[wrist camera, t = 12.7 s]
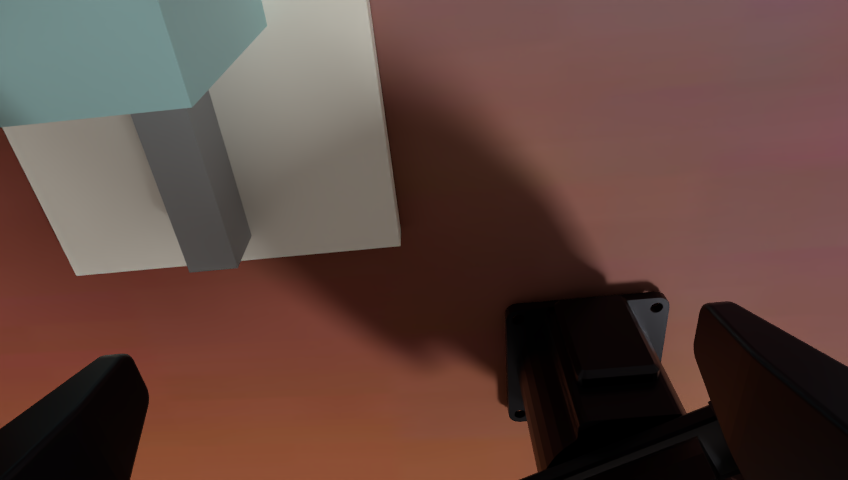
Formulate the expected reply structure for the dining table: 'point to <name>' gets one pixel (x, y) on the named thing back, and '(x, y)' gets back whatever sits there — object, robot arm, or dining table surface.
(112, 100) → the teal block
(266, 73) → the cleat board
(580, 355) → the robot arm
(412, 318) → the dining table surface
